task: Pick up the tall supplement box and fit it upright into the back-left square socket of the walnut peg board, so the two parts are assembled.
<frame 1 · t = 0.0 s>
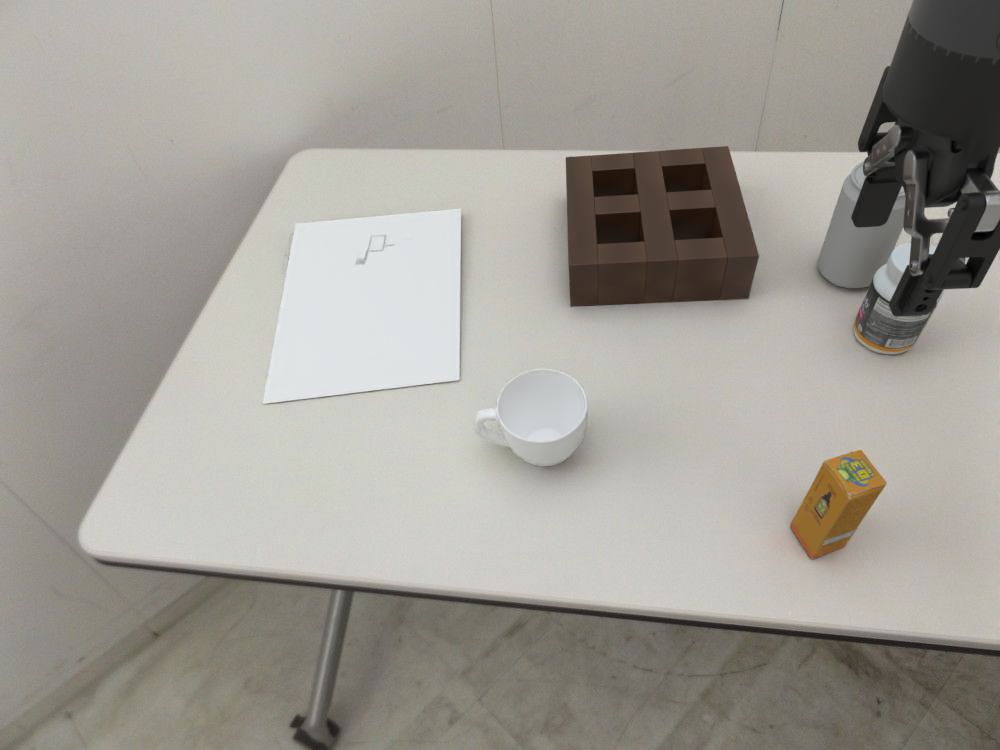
hand: (885, 265, 45), 20 cm above the table, tool pointing down, fingers open, 8 cm apart
beverage can: (846, 273, 73), on the table
supplement box: (817, 537, 55), on the table
cup: (533, 448, 63), on the table
peg board: (650, 244, 79), on the table
pill bottle: (882, 336, 67), on the table
paper sheet: (368, 301, 78), on the table
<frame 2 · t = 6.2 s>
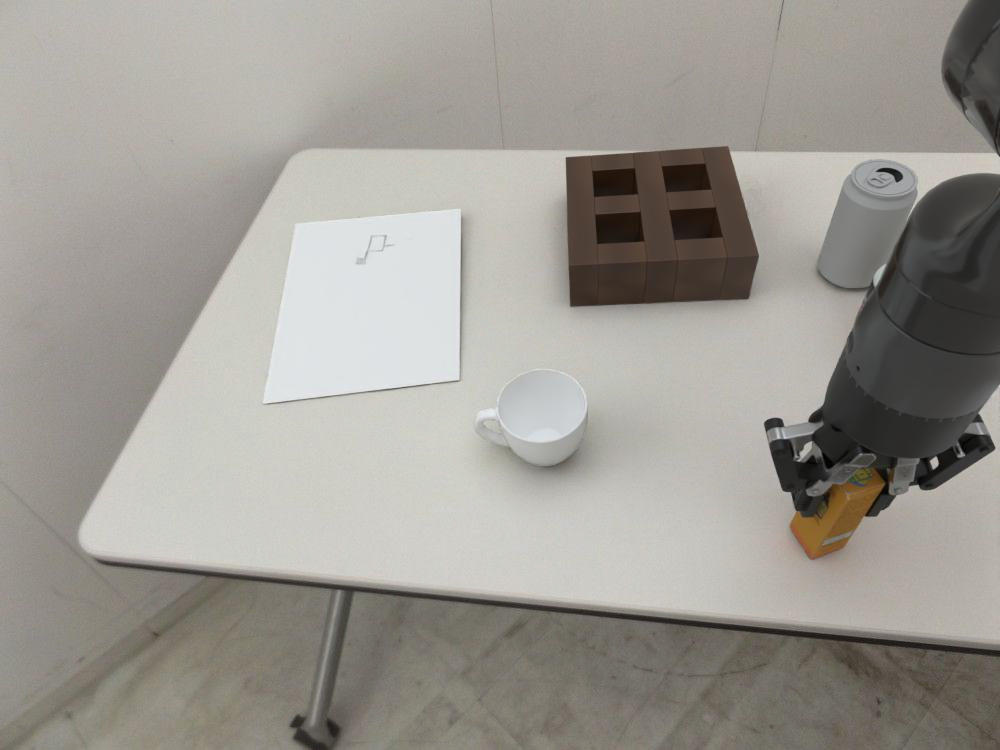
hand: (835, 505, 51), 5 cm above the table, tool pointing down, fingers closed on supplement box, 4 cm apart
supplement box: (817, 537, 55), on the table, touching gripper
everything else where it was.
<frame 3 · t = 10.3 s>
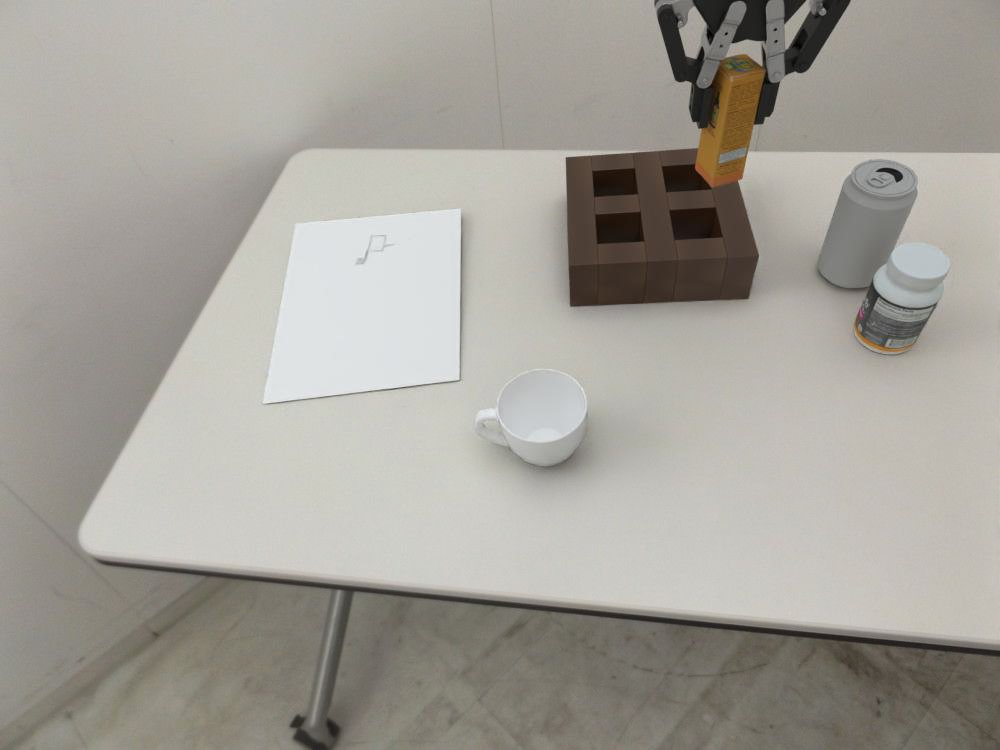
hand: (728, 120, 57), 21 cm above the table, tool pointing down, fingers closed on supplement box, 4 cm apart
supplement box: (719, 176, 61), point 15 cm above the table, touching gripper
everything else where it was.
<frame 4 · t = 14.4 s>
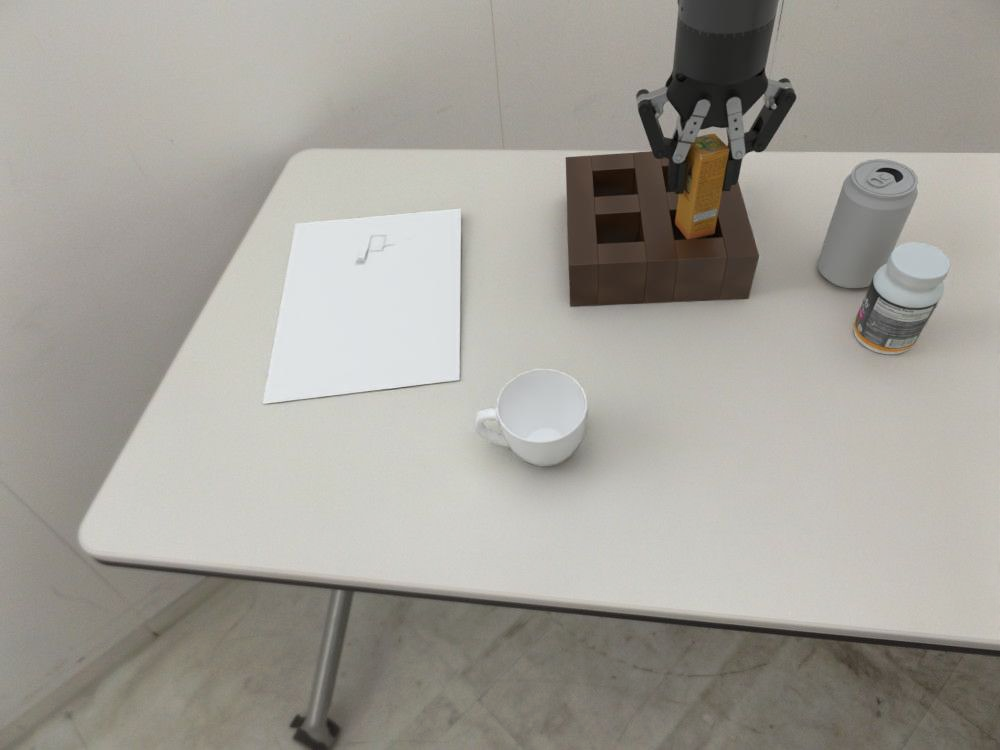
hand: (701, 186, 67), 11 cm above the table, tool pointing down, fingers closed on supplement box, 4 cm apart
supplement box: (695, 230, 72), point 5 cm above the table, touching gripper
everything else where it was.
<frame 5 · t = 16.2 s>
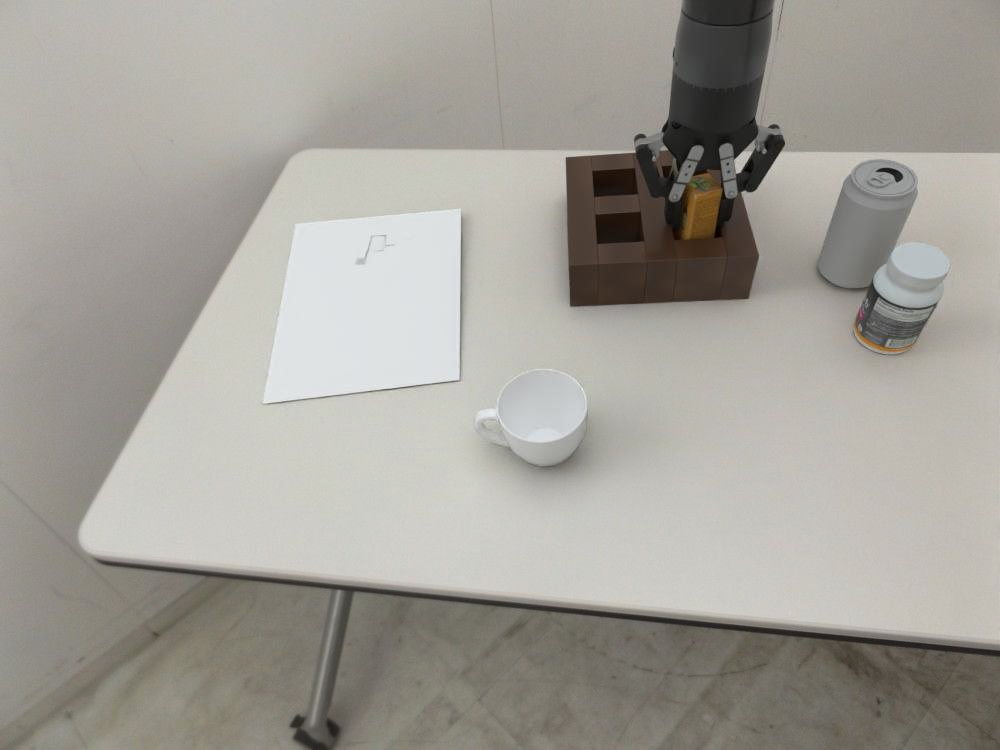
hand: (696, 222, 71), 6 cm above the table, tool pointing down, fingers closed on supplement box, 4 cm apart
supplement box: (690, 262, 75), point 1 cm above the table, touching gripper
everything else where it was.
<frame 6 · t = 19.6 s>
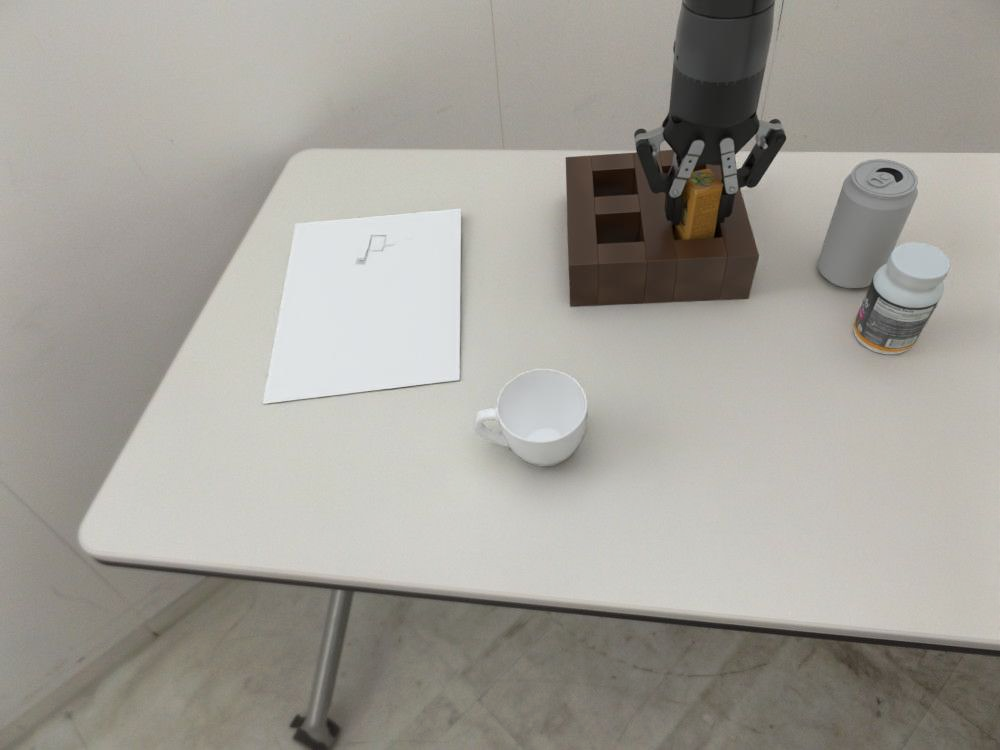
hand: (696, 218, 70), 7 cm above the table, tool pointing down, fingers closed on supplement box, 3 cm apart
supplement box: (691, 258, 75), point 1 cm above the table, touching gripper
everything else where it was.
when the fingers open (7 cm above the table, at t = 22.9 s): supplement box drops 2 cm, resting in peg board.
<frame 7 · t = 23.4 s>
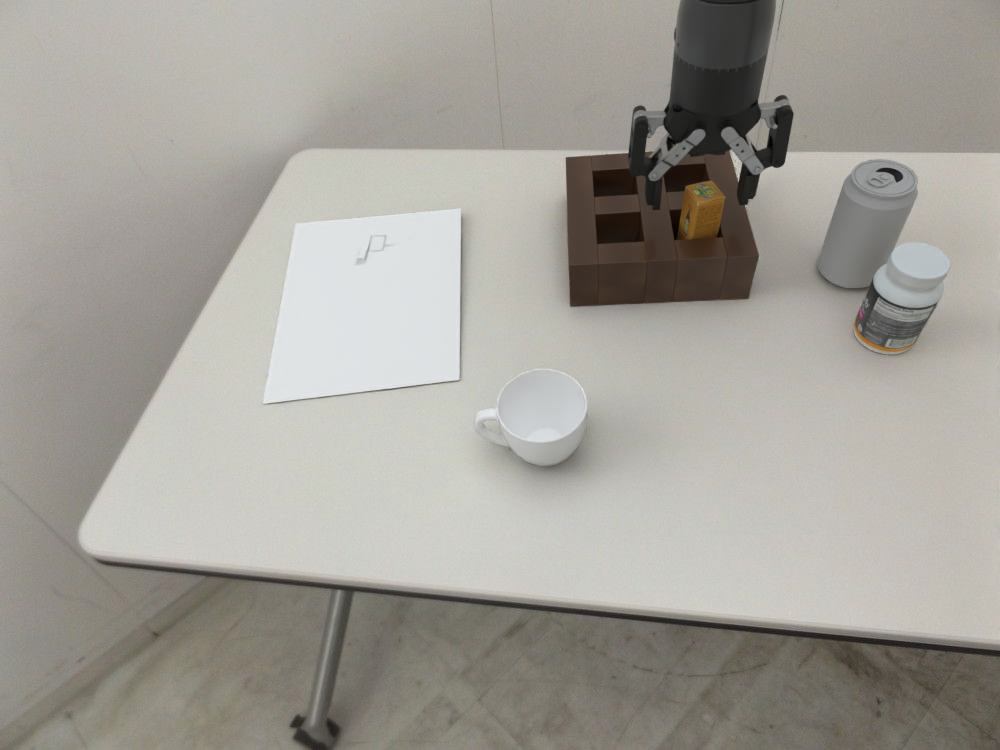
hand: (698, 202, 69), 9 cm above the table, tool pointing down, fingers open, 8 cm apart
supplement box: (692, 267, 76), resting in peg board
everything else where it was.
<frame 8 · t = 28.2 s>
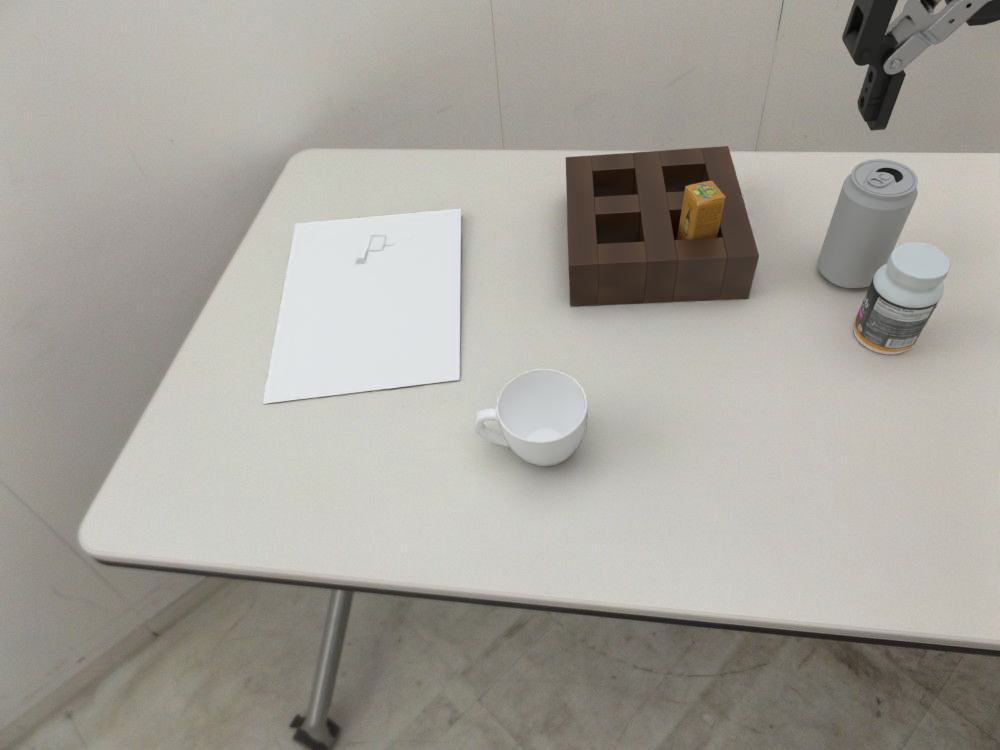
hand: (947, 118, 42), 28 cm above the table, tool pointing down, fingers open, 8 cm apart
nothing on the table moved.
at the end: supplement box 0.4 cm from the target spot in the peg board, point 0.0 cm above the peg board's base; supplement box tilted 0° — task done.
